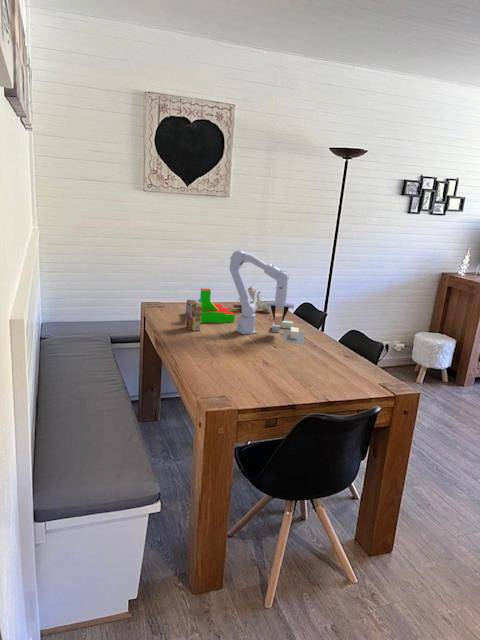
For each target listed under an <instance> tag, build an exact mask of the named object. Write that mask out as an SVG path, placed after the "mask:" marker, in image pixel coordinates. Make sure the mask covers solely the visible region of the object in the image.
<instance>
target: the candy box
mask: <svg viewBox="0 0 480 640" xmlns="http://www.w3.org/2000/svg"><path fill="white" fill-rule="evenodd" d="M201 310H202V303H201V302H198V300H196V299H193V298H192V299H191V298H190V299H186V307H185V322H184V325H185V326H186V327H188V328H190V329H192V330H194V331H193V332H196V331H195V330H200V331H201ZM185 326H184V327H185ZM186 327H185V328H186ZM188 328H187V329H188ZM190 329H189V330H190ZM192 330H191V331H192Z"/></svg>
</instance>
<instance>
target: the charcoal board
mask: <svg viewBox="0 0 480 640" xmlns="http://www.w3.org/2000/svg"><path fill="white" fill-rule="evenodd" d="M290 332H291V329H290V330H289V329H288V330H287V329H283V338H282V342H283V343H290V344H298V345H305V342H306V341H305V332H304V331H299V333H298V339H290Z"/></svg>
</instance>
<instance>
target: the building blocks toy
mask: <svg viewBox="0 0 480 640" xmlns="http://www.w3.org/2000/svg"><path fill="white" fill-rule="evenodd" d="M211 292H212V290H211V289H210V288H203V287H202V288H200V298H199V299H198V300H197V301H198V302H201V303H202V310H201V321H202V322H219V323H218V324H225V323H235V313H234V312H233V310H232V307H230V308H229V307H223V306H222V304H221V303H219V304H218V303H213V302H212V300H211V295H212V294H211Z"/></svg>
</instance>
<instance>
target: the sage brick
mask: <svg viewBox="0 0 480 640" xmlns="http://www.w3.org/2000/svg"><path fill="white" fill-rule="evenodd" d="M293 323H294V321H291V320H284V321H282V325H280V329H281V328H283V329H288V330H289V329H290V330H291V327H293V325H294V324H293Z"/></svg>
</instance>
